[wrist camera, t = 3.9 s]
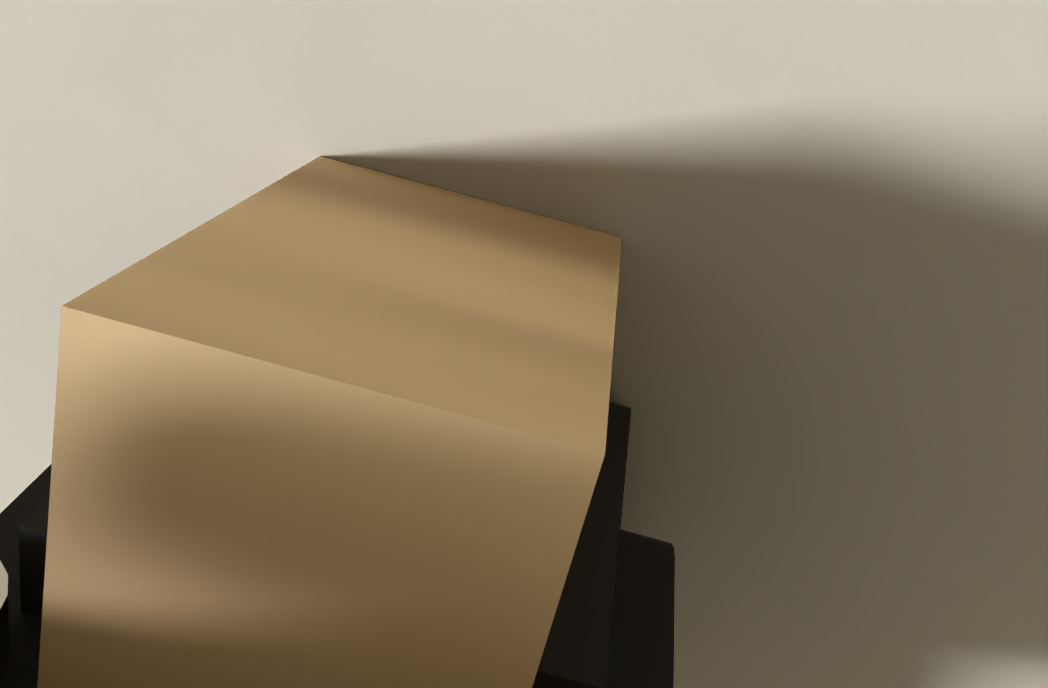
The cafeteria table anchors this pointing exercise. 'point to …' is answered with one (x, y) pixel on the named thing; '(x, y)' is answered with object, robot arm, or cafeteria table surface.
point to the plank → (328, 443)
